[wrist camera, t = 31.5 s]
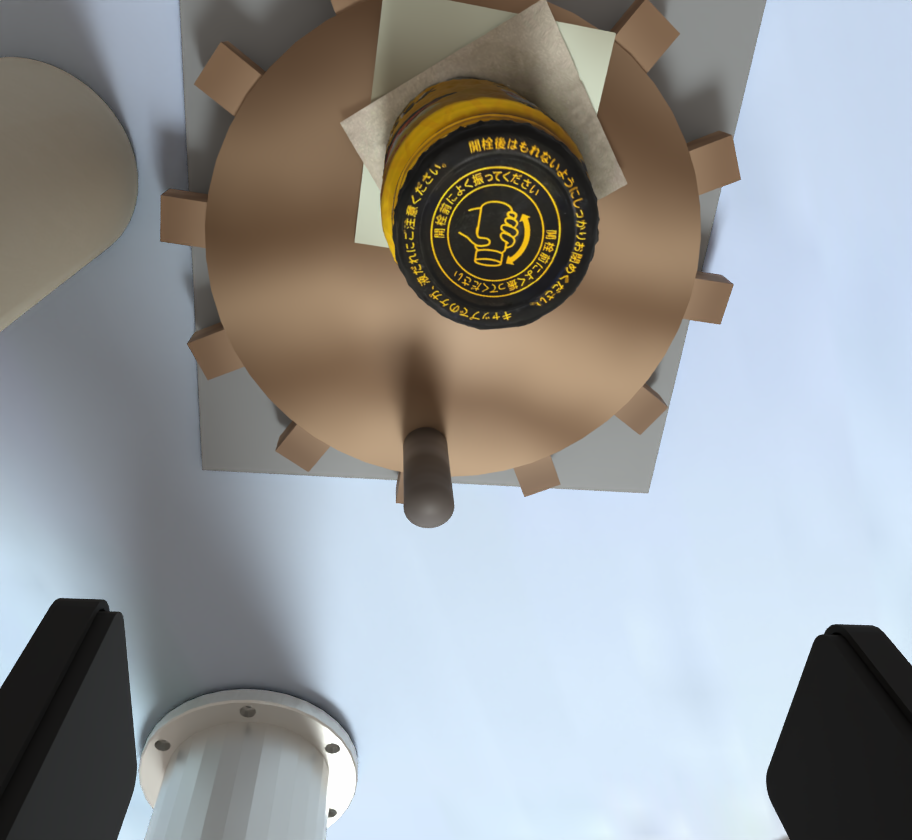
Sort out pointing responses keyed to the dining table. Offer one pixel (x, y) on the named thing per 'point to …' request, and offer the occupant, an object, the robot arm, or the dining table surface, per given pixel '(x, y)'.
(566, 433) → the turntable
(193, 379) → the dining table surface
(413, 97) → the condiment
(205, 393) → the turntable base
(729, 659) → the dining table surface
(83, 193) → the travel mug
